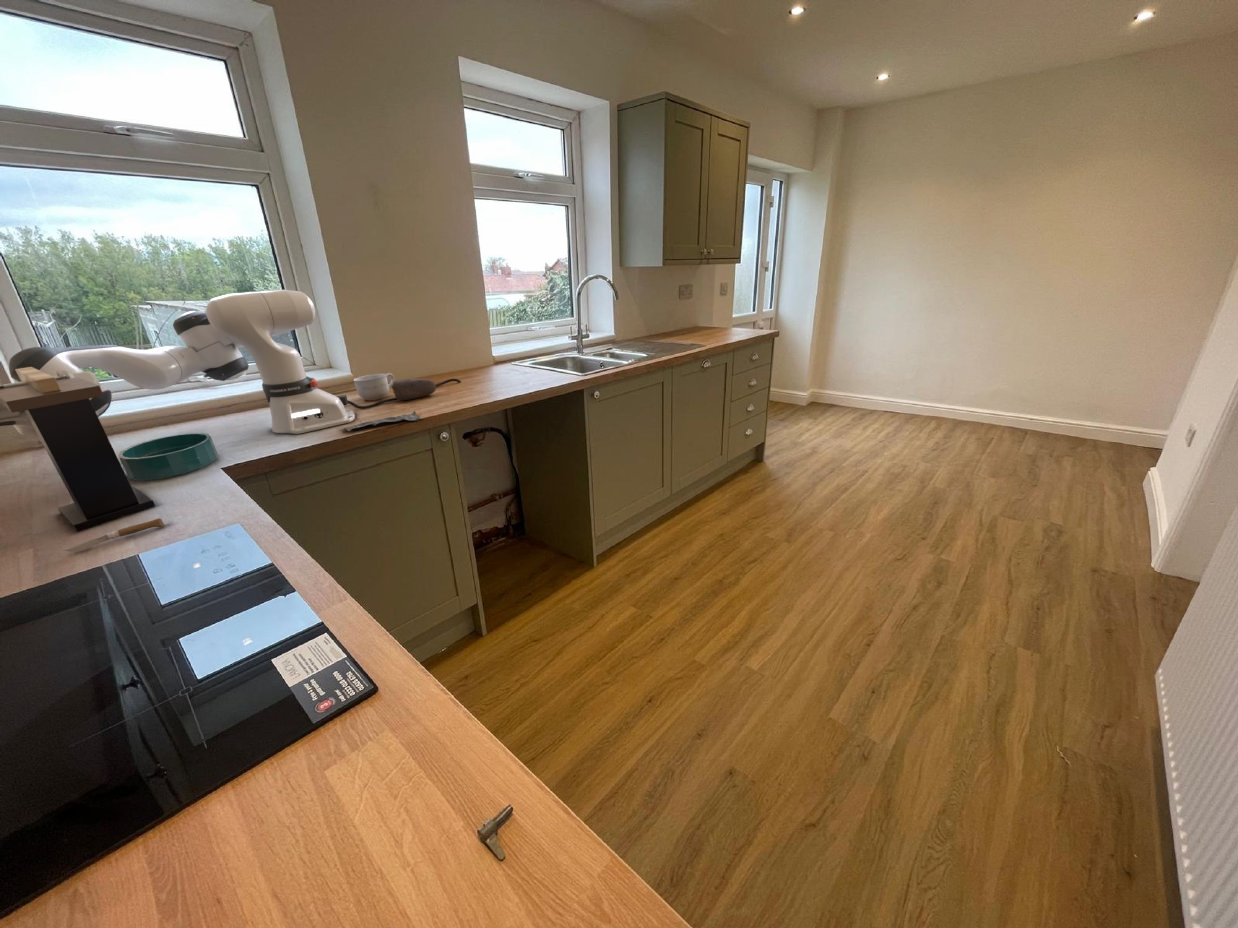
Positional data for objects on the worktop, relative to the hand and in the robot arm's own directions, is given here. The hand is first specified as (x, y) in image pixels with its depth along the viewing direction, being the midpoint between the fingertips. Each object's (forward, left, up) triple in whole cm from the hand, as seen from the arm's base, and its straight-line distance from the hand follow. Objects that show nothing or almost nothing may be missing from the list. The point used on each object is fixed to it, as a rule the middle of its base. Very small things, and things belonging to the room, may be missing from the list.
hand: (30, 378), depth 102 cm
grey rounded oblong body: (-77, -38, -27) cm, 90 cm away
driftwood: (-63, -13, -27) cm, 69 cm away
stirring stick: (-3, +7, 0) cm, 8 cm away
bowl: (-14, -9, -26) cm, 31 cm away
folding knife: (-12, +31, -27) cm, 43 cm away
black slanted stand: (-6, +12, -26) cm, 30 cm away
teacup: (-66, -48, -27) cm, 85 cm away
